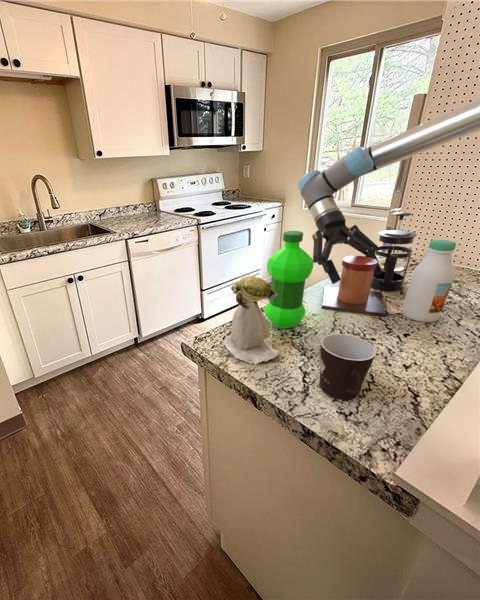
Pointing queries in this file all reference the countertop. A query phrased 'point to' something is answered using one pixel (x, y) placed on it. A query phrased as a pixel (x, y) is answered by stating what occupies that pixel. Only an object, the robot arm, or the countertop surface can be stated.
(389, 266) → the french press
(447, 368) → the countertop surface
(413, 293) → the milk bottle
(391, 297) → the countertop surface
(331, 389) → the coffee mug
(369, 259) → the lid
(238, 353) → the turtle figurine
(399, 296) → the countertop surface
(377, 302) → the board
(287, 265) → the plastic bottle
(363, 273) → the jar
